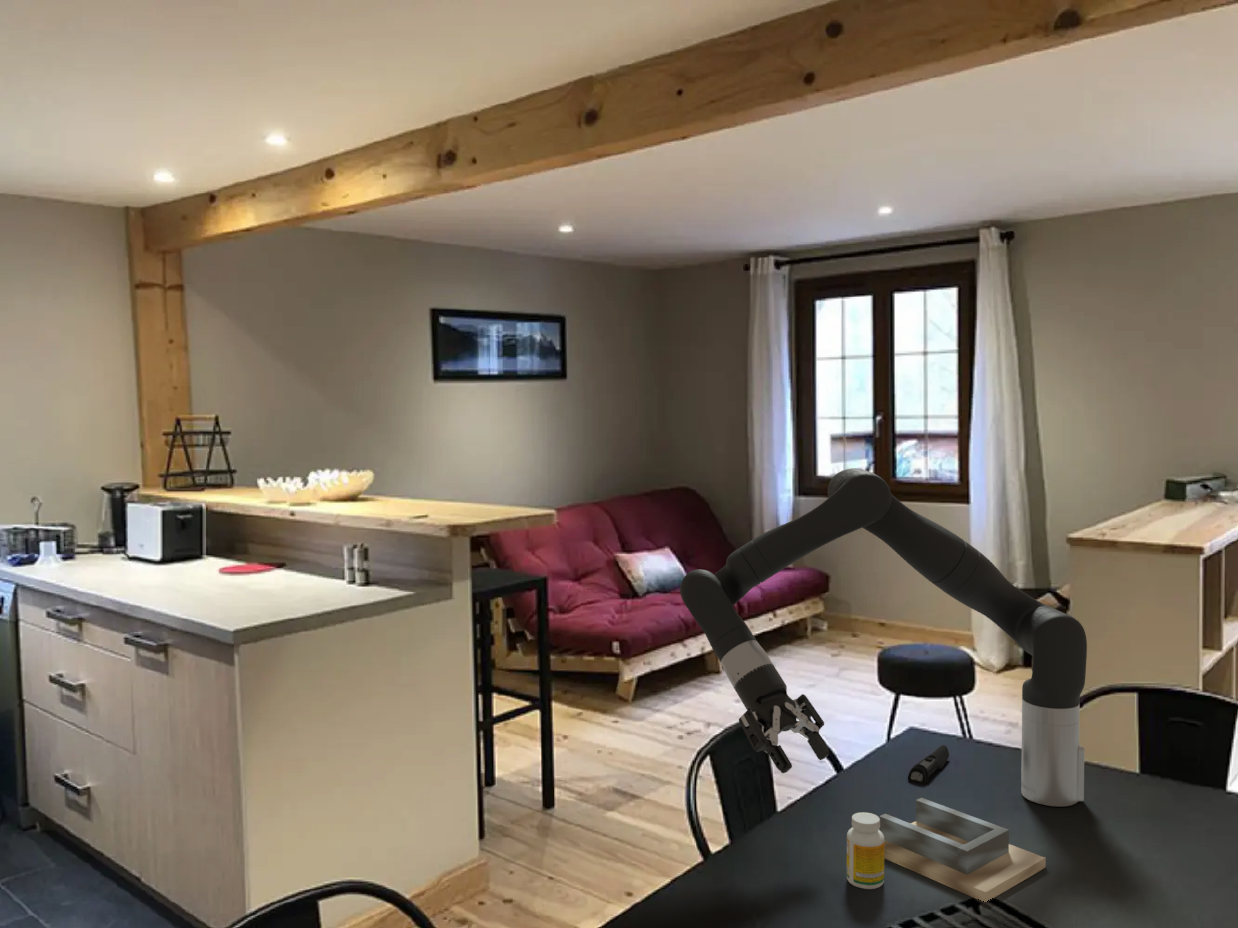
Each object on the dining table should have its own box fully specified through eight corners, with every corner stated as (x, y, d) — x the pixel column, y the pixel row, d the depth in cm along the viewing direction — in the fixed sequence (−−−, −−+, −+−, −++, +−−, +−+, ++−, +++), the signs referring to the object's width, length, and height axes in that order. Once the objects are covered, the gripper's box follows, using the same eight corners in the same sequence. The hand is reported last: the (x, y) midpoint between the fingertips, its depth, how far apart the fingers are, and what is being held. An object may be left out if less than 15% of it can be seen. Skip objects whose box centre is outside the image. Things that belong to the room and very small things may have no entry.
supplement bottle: (839, 877, 145) (839, 814, 144) (867, 869, 147) (867, 807, 146) (863, 893, 140) (863, 828, 139) (892, 884, 142) (892, 820, 141)
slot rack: (869, 851, 152) (869, 820, 152) (930, 823, 162) (930, 793, 162) (985, 902, 137) (985, 868, 136) (1045, 867, 146) (1045, 835, 146)
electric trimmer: (954, 762, 190) (954, 746, 190) (925, 787, 178) (926, 770, 177) (935, 758, 192) (935, 742, 192) (905, 782, 180) (905, 765, 180)
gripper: (732, 670, 153) (787, 763, 145) (794, 654, 162) (850, 741, 153) (710, 696, 157) (762, 787, 149) (771, 679, 166) (824, 764, 158)
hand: (806, 763), depth 151 cm, fingers open, 8 cm apart
